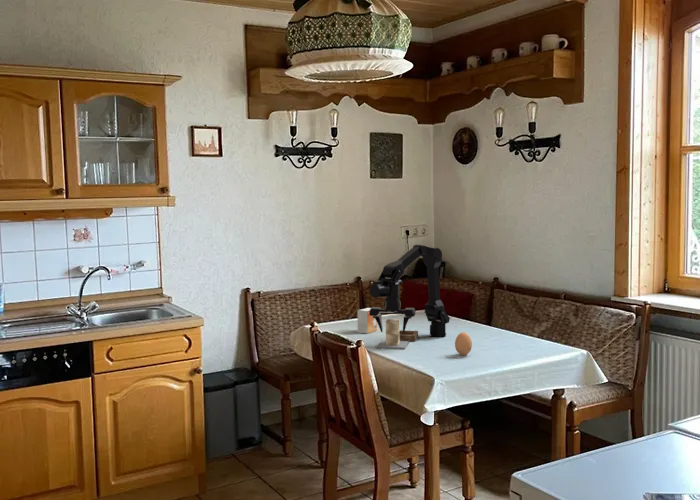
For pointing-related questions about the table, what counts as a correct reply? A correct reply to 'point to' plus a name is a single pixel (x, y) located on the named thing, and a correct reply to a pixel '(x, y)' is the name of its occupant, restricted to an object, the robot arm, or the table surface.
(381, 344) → the slate mat
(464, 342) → the egg
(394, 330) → the birch block
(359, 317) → the small box
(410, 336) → the walnut holder
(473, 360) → the table surface
